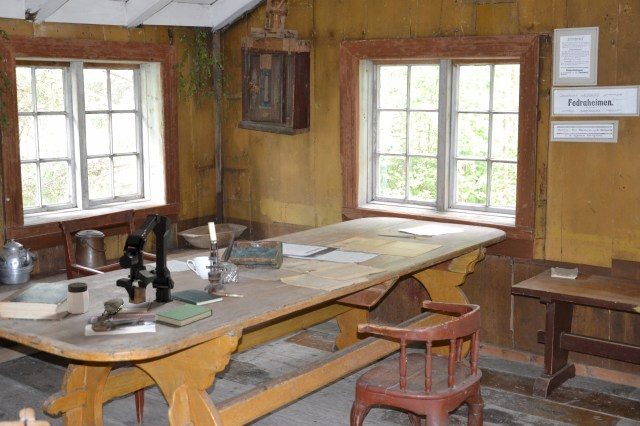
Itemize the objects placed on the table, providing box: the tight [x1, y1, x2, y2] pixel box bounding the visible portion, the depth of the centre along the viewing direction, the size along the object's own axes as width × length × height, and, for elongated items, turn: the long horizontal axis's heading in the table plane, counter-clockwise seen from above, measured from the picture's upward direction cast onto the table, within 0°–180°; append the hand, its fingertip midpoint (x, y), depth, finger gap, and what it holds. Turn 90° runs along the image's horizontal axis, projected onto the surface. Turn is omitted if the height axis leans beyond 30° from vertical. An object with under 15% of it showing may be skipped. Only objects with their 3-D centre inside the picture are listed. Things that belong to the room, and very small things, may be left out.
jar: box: [66, 281, 90, 315], centre depth 359 cm, size 9×8×12 cm
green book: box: [155, 303, 213, 327], centre depth 354 cm, size 20×14×3 cm
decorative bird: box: [101, 296, 125, 317], centre depth 357 cm, size 5×16×7 cm, turn 168°
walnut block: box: [128, 286, 147, 305], centre depth 351 cm, size 5×5×6 cm
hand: (137, 299), depth 351 cm, fingers closed on walnut block, 5 cm apart
